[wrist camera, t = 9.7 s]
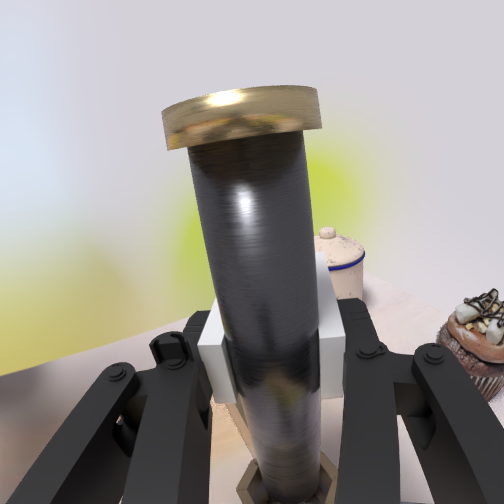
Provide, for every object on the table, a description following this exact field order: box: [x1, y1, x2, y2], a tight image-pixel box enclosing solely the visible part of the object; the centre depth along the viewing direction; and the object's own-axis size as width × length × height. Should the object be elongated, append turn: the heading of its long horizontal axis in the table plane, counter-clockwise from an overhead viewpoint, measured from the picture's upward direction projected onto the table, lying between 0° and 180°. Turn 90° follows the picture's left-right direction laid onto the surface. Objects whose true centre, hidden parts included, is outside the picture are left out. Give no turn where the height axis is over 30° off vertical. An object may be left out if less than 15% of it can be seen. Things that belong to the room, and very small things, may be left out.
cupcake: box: [436, 288, 504, 402], centre depth 23 cm, size 10×10×10 cm
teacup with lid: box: [314, 227, 365, 301], centre depth 39 cm, size 12×9×12 cm
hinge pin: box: [162, 85, 322, 504], centre depth 11 cm, size 4×4×18 cm
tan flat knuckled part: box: [225, 392, 338, 504], centre depth 21 cm, size 18×6×6 cm, turn 22°
